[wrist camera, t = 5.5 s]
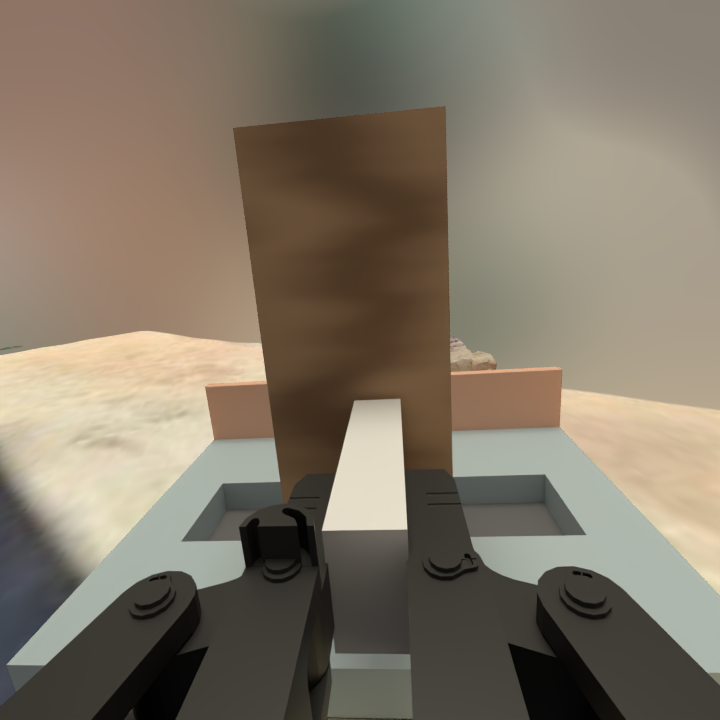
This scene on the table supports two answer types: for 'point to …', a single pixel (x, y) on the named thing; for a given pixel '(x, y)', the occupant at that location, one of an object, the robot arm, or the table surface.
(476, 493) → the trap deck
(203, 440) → the table surface
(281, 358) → the walnut block
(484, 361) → the mineral specimen
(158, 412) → the table surface
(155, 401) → the table surface
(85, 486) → the table surface
